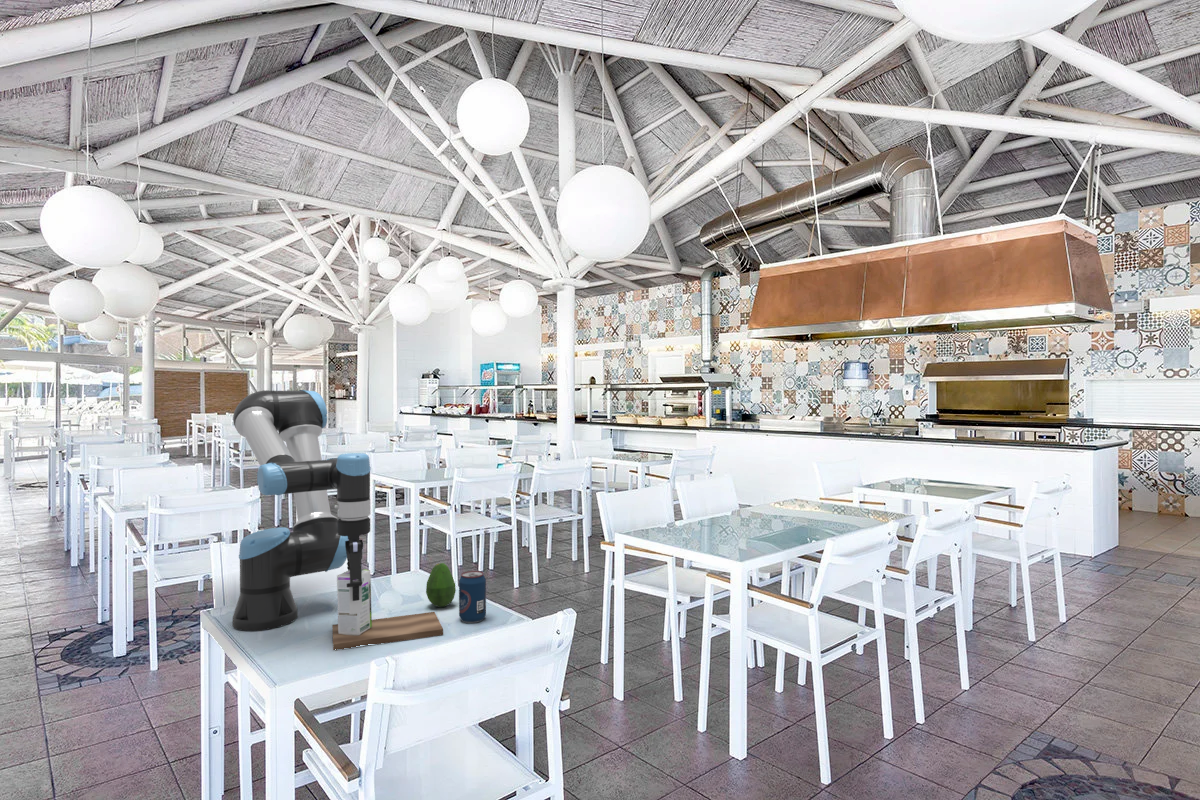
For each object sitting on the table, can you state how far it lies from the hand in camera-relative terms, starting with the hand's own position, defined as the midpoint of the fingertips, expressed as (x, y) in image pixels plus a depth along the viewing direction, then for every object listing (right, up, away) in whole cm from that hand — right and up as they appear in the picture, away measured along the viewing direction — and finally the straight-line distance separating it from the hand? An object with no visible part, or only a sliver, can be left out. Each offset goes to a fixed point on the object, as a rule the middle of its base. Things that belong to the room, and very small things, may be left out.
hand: (354, 604), depth 161 cm
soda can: (+26, -8, +12) cm, 30 cm away
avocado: (+15, -8, +23) cm, 29 cm away
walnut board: (+7, -8, +3) cm, 11 cm away
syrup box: (0, -7, 0) cm, 7 cm away
